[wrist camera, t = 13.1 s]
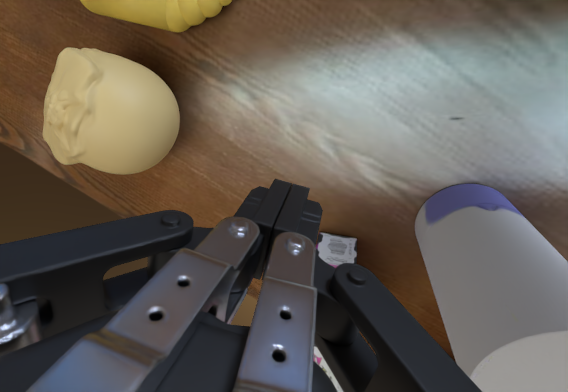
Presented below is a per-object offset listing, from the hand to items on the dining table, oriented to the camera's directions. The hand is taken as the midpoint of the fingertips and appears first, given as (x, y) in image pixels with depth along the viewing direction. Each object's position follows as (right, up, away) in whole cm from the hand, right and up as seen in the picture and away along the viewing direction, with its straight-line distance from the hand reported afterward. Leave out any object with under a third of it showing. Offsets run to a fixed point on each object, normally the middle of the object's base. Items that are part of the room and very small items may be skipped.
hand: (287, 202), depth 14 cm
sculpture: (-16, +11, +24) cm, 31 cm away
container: (+20, -3, +23) cm, 30 cm away
